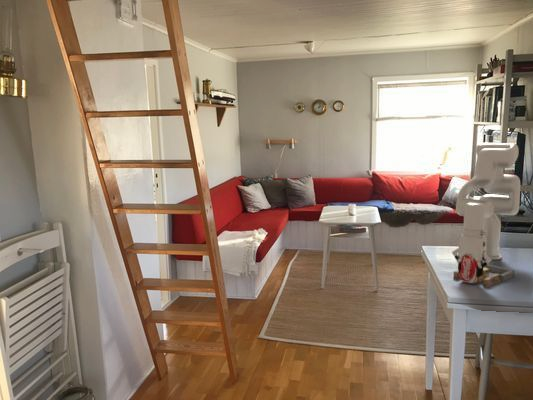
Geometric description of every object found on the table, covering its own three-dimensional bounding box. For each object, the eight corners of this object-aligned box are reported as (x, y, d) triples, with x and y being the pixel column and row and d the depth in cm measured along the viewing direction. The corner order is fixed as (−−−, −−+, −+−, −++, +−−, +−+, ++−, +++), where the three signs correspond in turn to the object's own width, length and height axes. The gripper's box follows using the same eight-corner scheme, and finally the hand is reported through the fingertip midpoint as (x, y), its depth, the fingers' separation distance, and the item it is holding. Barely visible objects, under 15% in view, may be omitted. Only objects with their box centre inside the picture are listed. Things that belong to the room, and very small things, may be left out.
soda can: (480, 284, 181) (482, 256, 179) (462, 283, 182) (464, 255, 180) (476, 278, 188) (478, 251, 186) (458, 277, 189) (460, 250, 187)
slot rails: (467, 272, 198) (467, 266, 198) (499, 280, 187) (500, 274, 187) (453, 278, 191) (453, 271, 190) (486, 287, 180) (487, 280, 179)
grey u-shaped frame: (476, 266, 206) (477, 261, 206) (514, 275, 194) (514, 270, 193) (464, 272, 199) (464, 266, 199) (502, 281, 187) (503, 275, 186)
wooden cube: (479, 275, 195) (480, 266, 194) (488, 277, 192) (489, 268, 191) (475, 277, 193) (475, 268, 192) (484, 279, 189) (485, 270, 189)
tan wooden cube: (473, 277, 191) (473, 269, 191) (482, 280, 188) (483, 271, 188) (468, 279, 189) (469, 270, 188) (478, 282, 186) (478, 273, 185)
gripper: (498, 235, 178) (495, 277, 180) (457, 227, 191) (454, 267, 194) (490, 238, 173) (486, 281, 176) (448, 230, 186) (445, 270, 189)
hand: (469, 273), depth 185 cm, fingers closed on soda can, 7 cm apart
